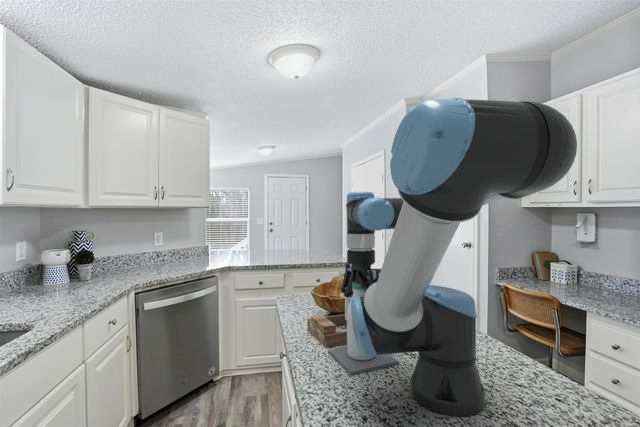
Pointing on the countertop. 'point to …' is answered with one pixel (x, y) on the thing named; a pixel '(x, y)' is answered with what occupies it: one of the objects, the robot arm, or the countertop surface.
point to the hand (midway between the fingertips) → (361, 327)
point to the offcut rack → (328, 329)
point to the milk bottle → (351, 342)
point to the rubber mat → (358, 365)
